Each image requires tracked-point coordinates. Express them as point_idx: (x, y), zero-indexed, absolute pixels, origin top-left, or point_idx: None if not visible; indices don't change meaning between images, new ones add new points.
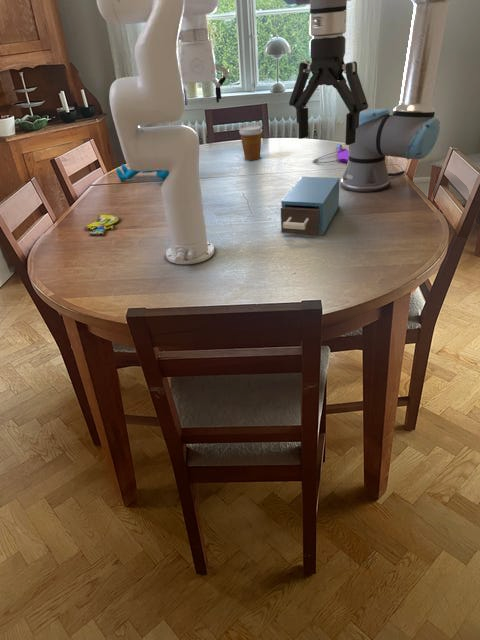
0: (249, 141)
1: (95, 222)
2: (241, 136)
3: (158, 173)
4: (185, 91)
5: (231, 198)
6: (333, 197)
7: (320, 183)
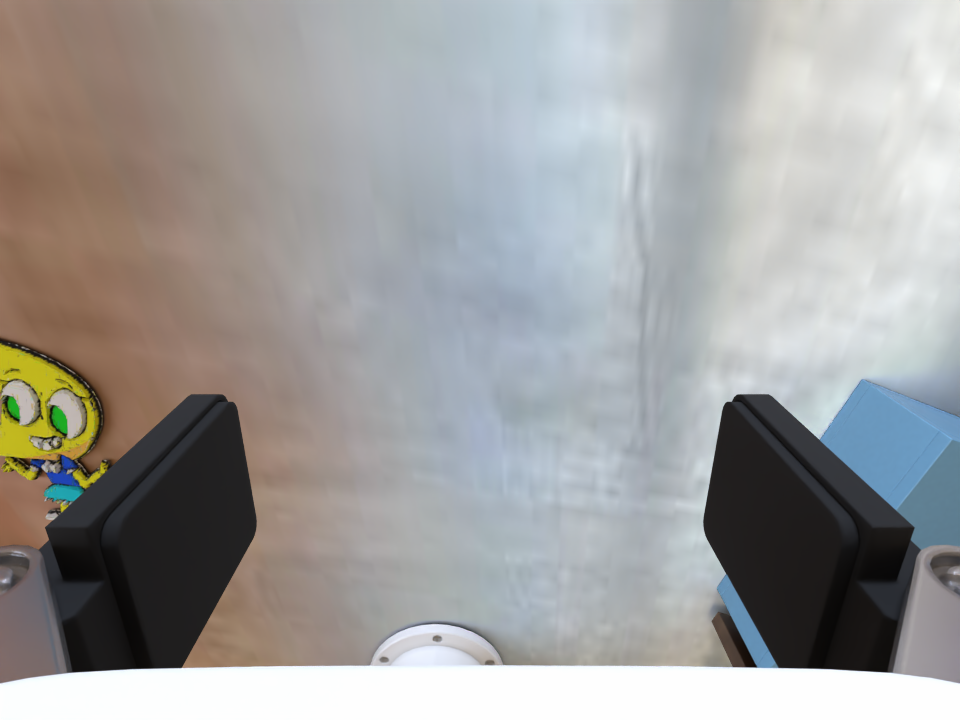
0: None
1: (7, 424)
2: None
3: None
4: (156, 637)
5: (572, 221)
6: None
7: None
